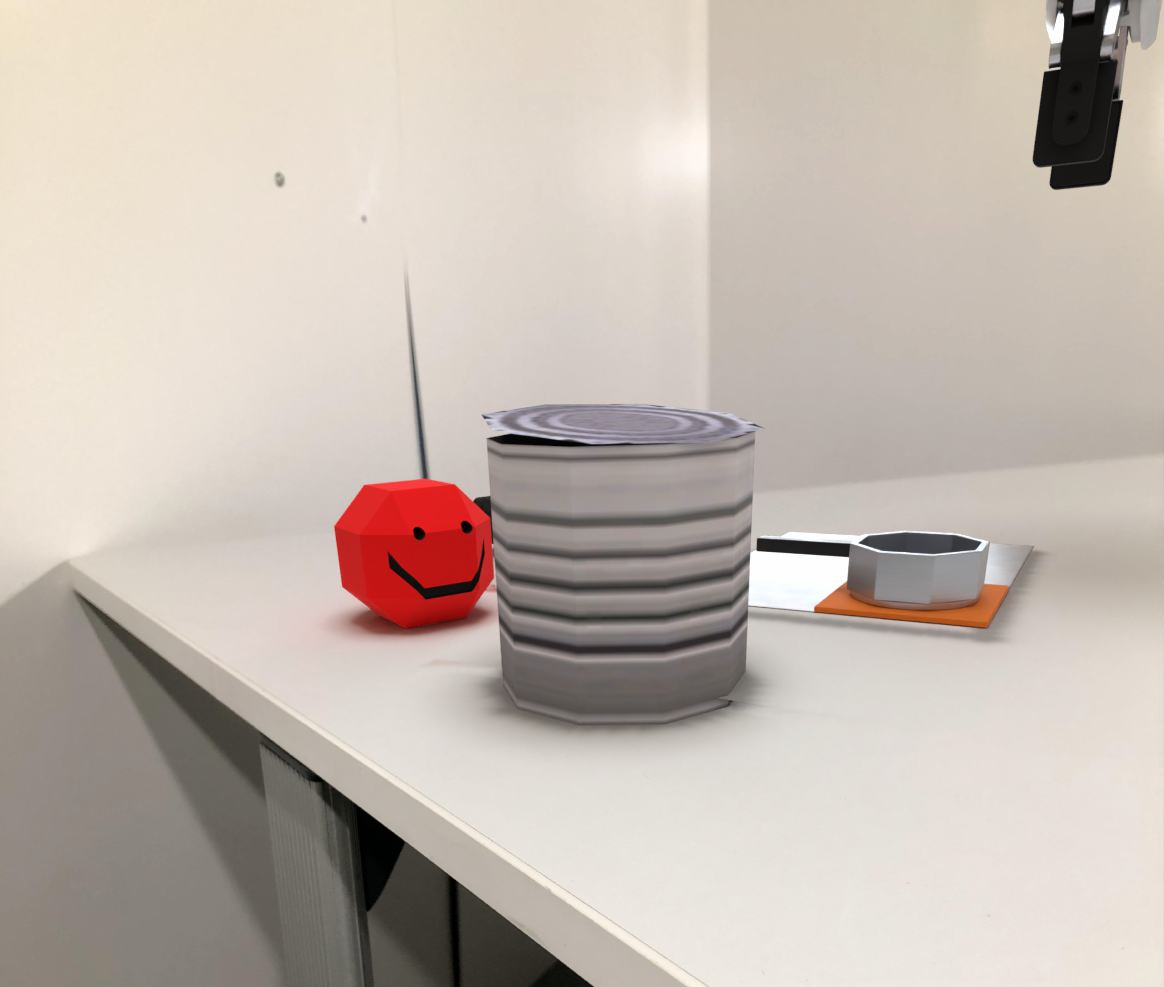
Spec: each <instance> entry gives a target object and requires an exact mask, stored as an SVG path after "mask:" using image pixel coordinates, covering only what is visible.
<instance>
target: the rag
mask: <svg viewBox="0 0 1164 987" xmlns="http://www.w3.org/2000/svg"><path fill="white" fill-rule="evenodd" d="M1008 590H1009V591H1010V589H1009V586H1008V585H995V584H984V588H983V589H982V591H981V592H980V599H979V601H978V602H977V603H975V604H973V605H971V606H967V607H963V608H958V609H950V610H935V611H917V610H900V609H891V608H884V607H878V606H874V605H870V604H866V603H863V602H860V601H858V600H856V599H854V598H853V597H852V596H851V594H850V590H848V589H847V581H846V582H845V583H843V584H842V585H841V586H840V587H838V588H837V589H836V590H835V591H833V592H832V593H831V594H830V595H828V596H827V597H826V598H825V599H823V600H822V601H821V602H820V603H818V604H817V605H816V606H815V607H814V612H823V613H834V614H844V615H855V616H866V617H876V618H887V619H898V620H909V621H919V622H930V623H941V624H951V625H962V626H973V627H983V628H988V627H989V626H990V624H991V622H992V620H993V619H994V617H995V615H996V614H995V612H996V611H997V612H998V610H999V608H1000V607H999V606H1001V605H1002V603H1003V601H1004V600H1003V599H1005V598H1006V596H1007V594H1008V593H1007V592H1009V591H1008ZM1006 593H1007V594H1006ZM1005 595H1006V596H1005ZM1004 597H1005V598H1004ZM1002 600H1003V601H1002ZM1001 602H1002V603H1001ZM1000 604H1001V605H1000ZM998 607H999V608H998ZM997 609H998V610H997ZM997 612H996V613H997ZM823 613H822V614H823ZM994 614H995V615H994ZM844 615H843V616H844ZM855 616H854V617H855ZM993 616H994V617H993ZM876 618H875V619H876ZM992 618H993V619H992ZM887 619H886V620H887ZM991 619H992V620H991ZM990 621H991V622H990ZM919 622H918V623H919ZM989 623H990V624H989ZM988 625H989V626H988ZM987 626H988V627H987Z"/></svg>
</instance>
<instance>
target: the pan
mask: <svg viewBox="0 0 1164 987" xmlns="http://www.w3.org/2000/svg"><path fill="white" fill-rule="evenodd" d="M781 536H782V535H780V536H778V535H761V536H759V537H757V538H756V549H755V550H756V551H760V552H775V553H790V554H805V555H820V556H835V557H849V564H848V576H847V589H848V590H850V594H851V596H852V597H853V598H854V599H856V600H858V601H860V602H863V603H866V604H870V605H874V606H878V607H884V608H891V609H900V610H917V611H935V610H950V609H958V608H963V607H967V606H971V605H973V604H975V603H977V602H978V601H979V599H980V592H981V591H982V589H983V588H984V582H985V575H986V568H987V561H988V554H989V546H990V543H991V542H990V541H988V540H985V539H981V538H976V537H973V536H968V535H964V534H960V533H956V532H955V533H954V532H934V531H918V530H917V531H916V530H899V531H891V532H878V533H867V534H865V533H864V534H862V535H859V536H860V537H859V538H857V539H856V540H855V541H849V540H832V539H815V538H798V537H781Z"/></svg>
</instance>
